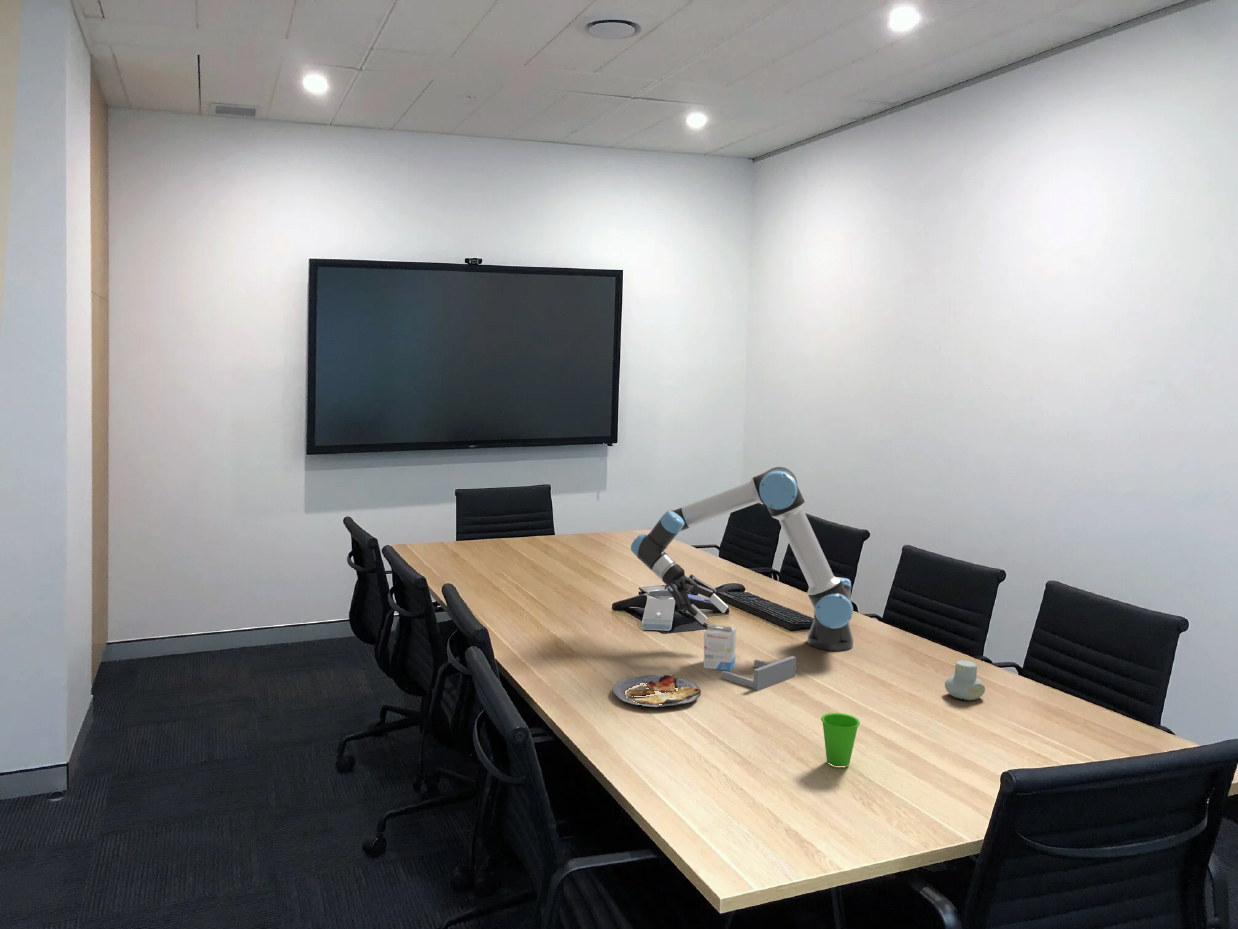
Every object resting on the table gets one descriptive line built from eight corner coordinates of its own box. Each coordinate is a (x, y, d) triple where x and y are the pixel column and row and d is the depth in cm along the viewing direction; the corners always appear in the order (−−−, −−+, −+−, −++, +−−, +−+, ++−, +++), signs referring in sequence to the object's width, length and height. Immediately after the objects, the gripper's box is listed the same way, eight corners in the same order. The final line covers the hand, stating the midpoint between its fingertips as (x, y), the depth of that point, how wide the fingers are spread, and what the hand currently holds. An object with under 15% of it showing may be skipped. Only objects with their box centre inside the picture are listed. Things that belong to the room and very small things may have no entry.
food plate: (679, 677, 287) (680, 666, 286) (715, 705, 265) (715, 693, 265) (601, 688, 278) (601, 677, 277) (631, 718, 256) (631, 706, 256)
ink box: (736, 663, 301) (737, 622, 300) (729, 671, 293) (731, 629, 292) (709, 660, 304) (711, 619, 302) (702, 668, 296) (704, 626, 295)
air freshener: (961, 704, 270) (963, 670, 269) (939, 695, 277) (941, 661, 276) (988, 699, 275) (991, 665, 274) (966, 689, 282) (968, 657, 281)
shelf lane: (795, 676, 290) (796, 657, 290) (757, 691, 277) (758, 671, 276) (757, 665, 300) (758, 646, 299) (719, 678, 287) (720, 659, 286)
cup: (814, 756, 233) (816, 713, 231) (850, 755, 234) (852, 712, 232) (825, 772, 224) (827, 727, 223) (862, 772, 225) (865, 727, 223)
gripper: (683, 571, 326) (728, 613, 318) (642, 589, 306) (689, 634, 298) (693, 555, 323) (739, 597, 315) (653, 572, 303) (701, 617, 295)
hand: (715, 615), depth 306 cm, fingers open, 13 cm apart
